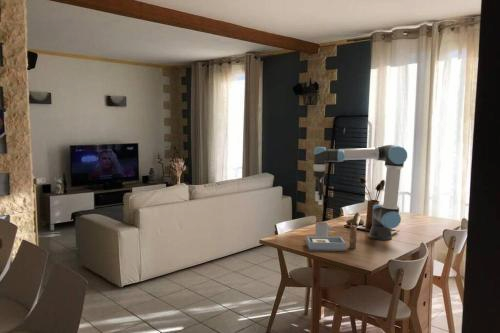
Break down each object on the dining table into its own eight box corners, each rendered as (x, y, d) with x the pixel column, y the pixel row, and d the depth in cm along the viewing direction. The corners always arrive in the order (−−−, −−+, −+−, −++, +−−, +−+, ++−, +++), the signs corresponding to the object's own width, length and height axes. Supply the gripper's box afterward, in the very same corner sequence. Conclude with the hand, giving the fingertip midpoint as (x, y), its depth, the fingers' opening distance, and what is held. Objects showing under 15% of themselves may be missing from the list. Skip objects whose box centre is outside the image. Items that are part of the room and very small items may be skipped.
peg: (354, 247, 254) (355, 225, 253) (356, 248, 250) (357, 226, 249) (348, 246, 254) (349, 225, 253) (350, 248, 250) (350, 226, 249)
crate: (340, 244, 259) (340, 237, 259) (345, 251, 245) (345, 243, 245) (306, 244, 259) (306, 236, 259) (309, 250, 245) (309, 242, 245)
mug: (320, 241, 265) (321, 225, 264) (312, 238, 272) (312, 222, 272) (334, 239, 272) (334, 223, 271) (325, 236, 279) (326, 221, 278)
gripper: (311, 168, 273) (310, 199, 274) (316, 172, 248) (315, 206, 250) (322, 168, 272) (321, 199, 274) (328, 172, 248) (327, 206, 249)
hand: (318, 202), depth 262 cm, fingers open, 13 cm apart
